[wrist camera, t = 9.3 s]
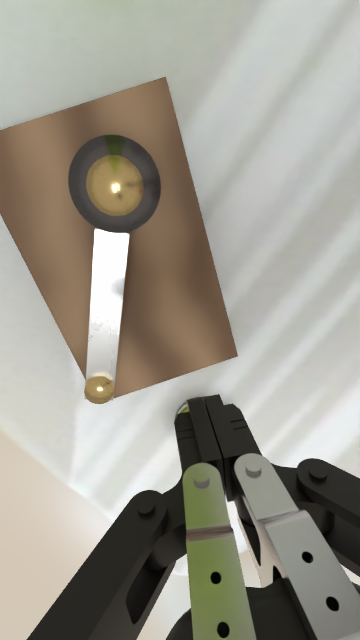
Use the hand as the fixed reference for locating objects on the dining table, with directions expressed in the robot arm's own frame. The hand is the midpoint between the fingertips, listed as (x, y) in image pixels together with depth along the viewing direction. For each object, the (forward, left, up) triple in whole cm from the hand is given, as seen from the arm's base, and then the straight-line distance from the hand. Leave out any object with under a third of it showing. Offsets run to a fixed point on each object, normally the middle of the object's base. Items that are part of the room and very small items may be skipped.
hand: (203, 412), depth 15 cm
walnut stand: (+2, -5, -14) cm, 15 cm away
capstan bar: (+3, -5, -12) cm, 14 cm away
